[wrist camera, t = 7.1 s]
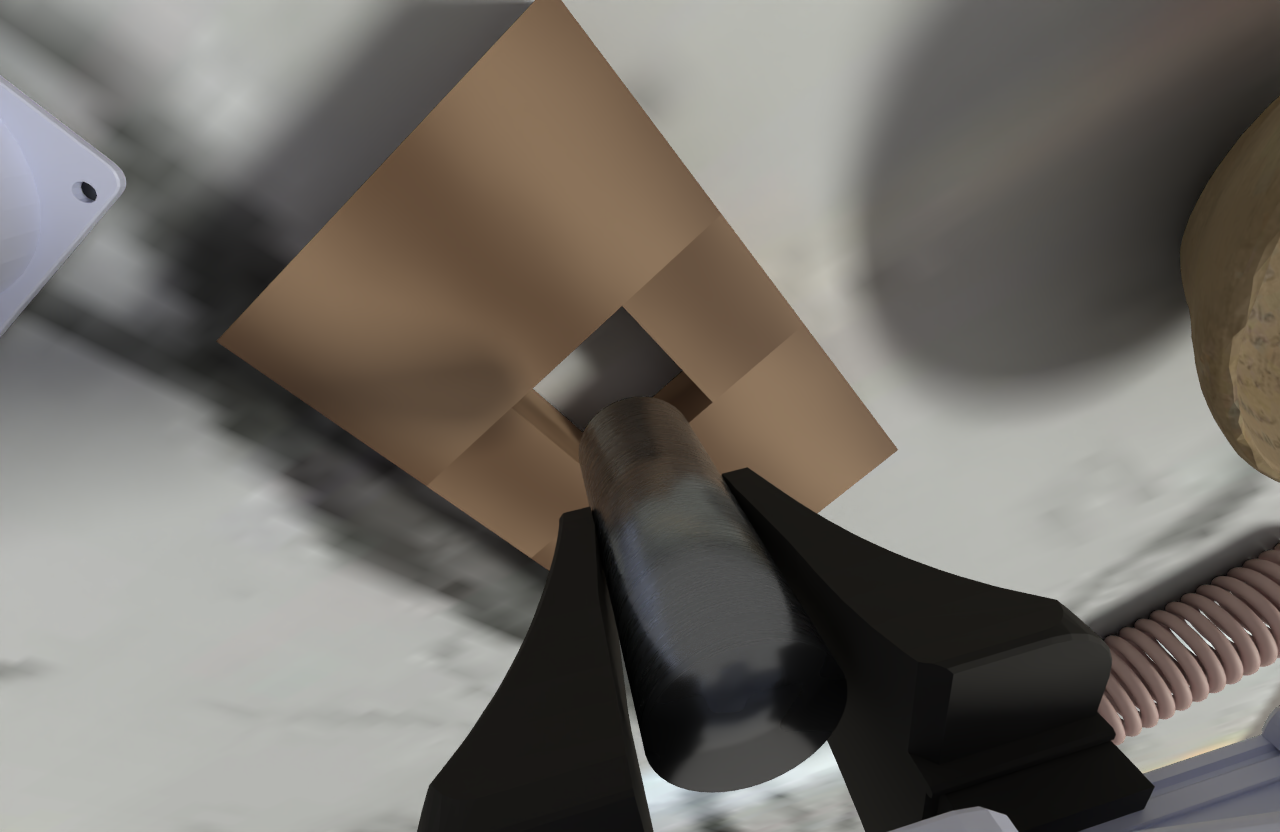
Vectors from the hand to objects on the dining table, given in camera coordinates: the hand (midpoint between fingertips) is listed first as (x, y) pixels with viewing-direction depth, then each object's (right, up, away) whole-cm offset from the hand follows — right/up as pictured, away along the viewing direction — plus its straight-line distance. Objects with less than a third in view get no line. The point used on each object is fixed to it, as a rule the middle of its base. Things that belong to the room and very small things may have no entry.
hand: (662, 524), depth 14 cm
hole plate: (-2, +4, +8) cm, 9 cm away
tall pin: (-1, +2, +2) cm, 3 cm away
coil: (+31, -9, +24) cm, 40 cm away
